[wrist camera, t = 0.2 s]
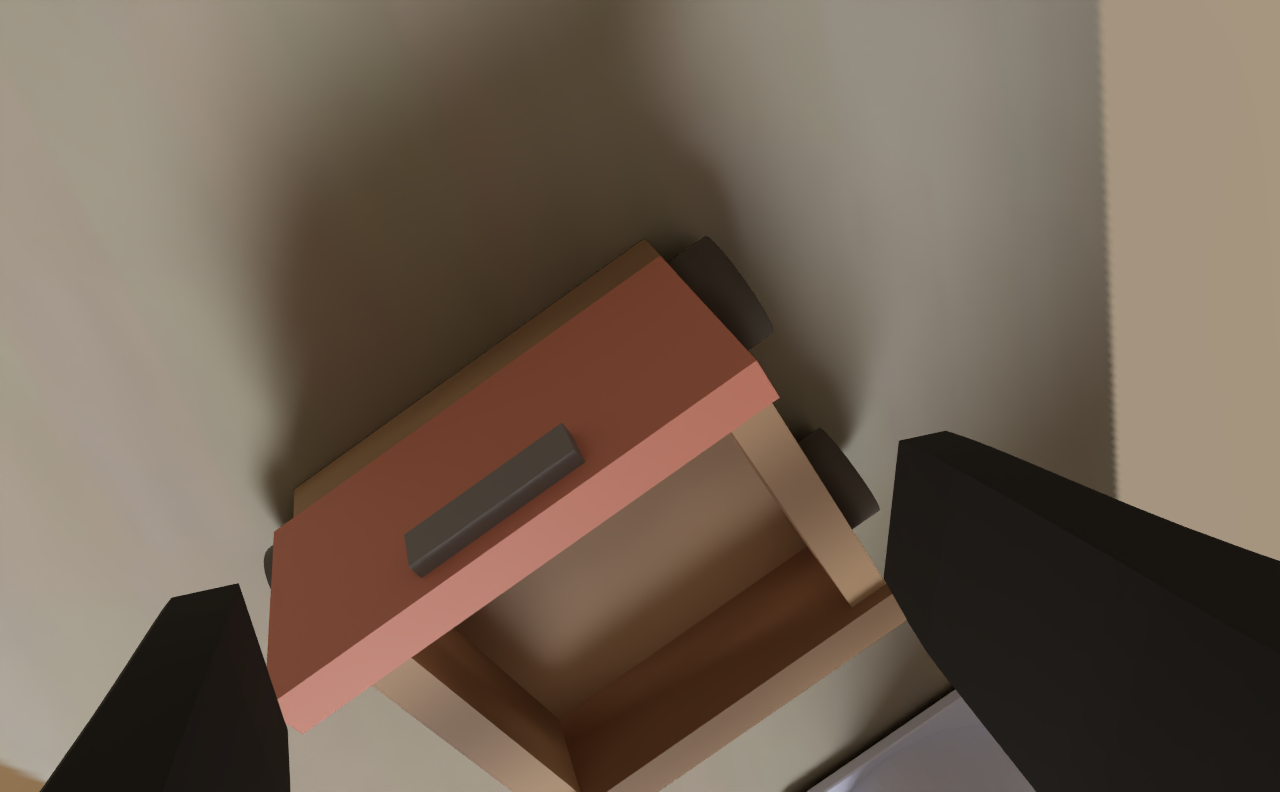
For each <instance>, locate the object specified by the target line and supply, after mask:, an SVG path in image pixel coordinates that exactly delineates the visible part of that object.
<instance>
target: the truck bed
mask: <svg viewBox="0 0 1280 792" xmlns="http://www.w3.org/2000/svg"><path fill="white" fill-rule="evenodd" d="M659 256H660V255H659V253H658V252H657V251H656V250H655V249H654V248H653V247H652V246H651V245H650V244H649V243H648V242H647V241H646V239H645V238H644V239H643V240H641V241H640V242H639V243H637V244H636V245H635V246H633V247H632V248H630V249H629V250H628V251H626V252H625V253H623V254H622V255H621V256H619V257H618V258H616V259H615V260H614V261H612V262H611V263H609V264H608V265H607V266H605V267H604V268H602V269H601V270H600V271H598V272H597V273H595V274H594V275H593V276H591V277H590V278H588V279H587V280H586V281H584V282H583V283H582V284H580V285H579V286H577V287H576V288H575V289H573V290H572V291H570V292H569V293H568V294H566V295H565V296H563V297H562V298H561V299H559V300H558V301H556V302H555V303H554V304H552V305H551V306H549V307H548V308H547V309H545V310H544V311H542V312H541V313H540V314H538V315H537V316H535V317H534V318H533V319H531V320H530V321H528V322H527V323H526V324H524V325H523V326H522V327H520V328H519V329H517V330H516V331H515V332H513V333H512V334H510V335H509V336H508V337H506V338H505V339H503V340H502V341H501V342H499V343H498V344H496V345H495V346H494V347H492V348H491V349H489V350H488V351H487V352H485V353H484V354H482V355H481V356H480V357H478V358H477V359H475V360H474V361H473V362H471V363H470V364H469V365H467V366H466V367H464V368H463V369H462V370H460V371H459V372H457V373H456V374H455V375H453V376H452V377H450V378H449V379H448V380H446V381H445V382H443V383H442V384H441V385H439V386H438V387H436V388H435V389H434V390H432V391H431V392H429V393H428V394H427V395H425V396H424V397H422V398H421V399H420V400H418V401H417V402H416V403H414V404H413V405H411V406H410V407H409V408H407V409H406V410H404V411H403V412H402V413H400V414H399V415H397V416H396V417H395V418H393V419H392V420H390V421H389V422H388V423H386V424H385V425H383V426H382V427H381V428H379V429H378V430H376V431H375V432H374V433H372V434H371V435H369V436H368V437H367V438H365V439H364V440H362V441H361V442H360V443H358V444H357V445H356V446H354V447H353V448H351V449H350V450H349V451H347V452H346V453H344V454H343V455H342V456H340V457H339V458H337V459H336V460H335V461H333V462H332V463H330V464H329V465H328V466H326V467H325V468H323V469H322V470H321V471H319V472H318V473H316V474H315V475H314V476H312V477H311V478H309V479H308V480H307V481H305V482H304V483H303V484H301V485H300V486H298V487H297V488H296V489H294V516H293V518H294V517H295V516H297V515H298V514H300V513H301V512H302V511H304V510H305V509H307V508H308V507H309V506H311V505H312V504H314V503H315V502H316V501H318V500H319V499H321V498H322V497H323V496H325V495H326V494H328V493H329V492H330V491H332V490H333V489H335V488H336V487H337V486H339V485H340V484H342V483H343V482H344V481H346V480H347V479H349V478H350V477H351V476H353V475H354V474H356V473H357V472H358V471H360V470H361V469H363V468H364V467H365V466H367V465H368V464H370V463H371V462H372V461H374V460H375V459H377V458H378V457H379V456H381V455H382V454H384V453H385V452H386V451H388V450H389V449H391V448H392V447H393V446H395V445H396V444H397V443H399V442H400V441H402V440H403V439H404V438H406V437H407V436H409V435H410V434H411V433H413V432H414V431H416V430H417V429H418V428H420V427H421V426H423V425H424V424H425V423H427V422H428V421H430V420H431V419H432V418H434V417H435V416H437V415H438V414H439V413H441V412H442V411H444V410H445V409H446V408H448V407H449V406H451V405H452V404H453V403H455V402H456V401H458V400H459V399H460V398H462V397H463V396H465V395H466V394H467V393H469V392H470V391H472V390H473V389H474V388H476V387H477V386H479V385H480V384H481V383H483V382H484V381H486V380H487V379H488V378H490V377H491V376H493V375H494V374H495V373H497V372H498V371H500V370H501V369H502V368H504V367H505V366H506V365H508V364H509V363H511V362H512V361H513V360H515V359H516V358H518V357H519V356H520V355H522V354H523V353H525V352H526V351H527V350H529V349H530V348H532V347H533V346H534V345H536V344H537V343H539V342H540V341H541V340H543V339H544V338H546V337H547V336H548V335H550V334H551V333H553V332H554V331H555V330H557V329H558V328H560V327H561V326H562V325H564V324H565V323H567V322H568V321H569V320H571V319H572V318H574V317H575V316H576V315H578V314H579V313H581V312H582V311H583V310H585V309H586V308H588V307H589V306H590V305H592V304H593V303H595V302H596V301H597V300H599V299H600V298H602V297H603V296H604V295H606V294H607V293H609V292H610V291H611V290H613V289H614V288H615V287H617V286H618V285H620V284H621V283H622V282H624V281H625V280H627V279H628V278H629V277H631V276H632V275H634V274H635V273H636V272H638V271H639V270H641V269H642V268H643V267H645V266H646V265H648V264H649V263H650V262H652V261H653V260H655V259H656V258H657V257H659ZM664 261H665V260H664ZM665 262H666V261H665ZM666 263H667V262H666ZM667 264H668V265H669V266H670V267H671V268H672V269H673V270H674V271H675V272H676V274H677V275H678V276H679V277H680V278H681V279H682V280H683V281H684V282H685V283H686V284H687V285H688V287H689V288H690V289H691V290H692V291H693V292H694V293H695V294H696V295H697V296H698V297H699V298H700V300H701V301H702V302H703V303H704V304H705V305H706V306H707V307H708V308H709V309H710V310H711V311H712V313H713V314H714V315H715V316H716V317H717V318H718V319H719V320H720V321H721V322H722V323H723V324H724V326H725V327H726V328H727V329H728V330H729V331H730V332H731V333H732V334H733V335H734V336H735V337H736V339H737V340H738V341H739V342H740V343H741V344H742V345H743V346H744V347H745V348H746V349H747V350H749V349H751V348H752V347H753V346H755V345H756V344H758V343H759V342H761V341H762V340H763V339H765V338H766V337H768V336H769V335H770V334H772V333H773V328H772V325H771V323H770V321H769V319H768V317H767V315H766V313H765V311H764V309H763V308H762V306H761V304H760V303H759V301H758V300H757V298H756V296H755V295H754V293H753V292H752V290H751V289H750V287H749V286H748V284H747V283H746V281H745V280H744V279H743V277H742V276H741V274H740V273H739V272H738V270H737V269H736V268H735V266H734V265H733V264H732V262H731V261H730V260H729V259H728V257H727V256H726V255H725V254H724V253H723V251H722V250H721V249H720V248H719V247H718V246H717V245H716V244H715V243H714V242H713V241H712V240H711V239H710V238H709V237H707V236H705V237H703V238H702V239H701V240H699V241H698V242H696V243H695V244H694V245H692V246H691V247H689V248H688V249H687V250H685V251H684V252H682V253H681V254H680V255H678V256H677V257H675V258H674V259H673V260H671V261H670V262H668V263H667ZM879 510H880V508H879V505H878V503H877V501H876V500H875V498H874V496H873V494H872V493H871V491H870V490H869V488H868V487H867V485H866V484H865V482H864V481H863V479H862V478H861V476H860V475H859V473H858V472H857V471H856V469H855V468H854V467H853V465H852V464H851V463H850V461H849V460H848V459H847V457H846V456H845V455H844V454H843V452H842V451H841V450H840V449H839V447H838V446H837V445H836V444H835V443H834V441H833V440H832V439H831V438H830V437H829V436H828V435H827V434H826V433H825V432H824V431H823V430H822V429H820V428H818V429H817V430H816V431H814V432H813V433H811V434H810V435H808V436H807V437H806V438H804V439H803V440H801V441H800V442H798V443H797V442H796V440H795V438H794V437H793V435H792V434H791V432H790V430H789V429H788V427H787V426H786V424H785V423H784V421H783V419H782V418H781V416H780V415H779V413H778V411H777V410H776V408H775V407H774V405H773V404H772V403H771V404H770V405H769V406H767V407H766V408H764V409H763V410H762V411H760V412H759V413H757V414H756V415H754V416H753V417H752V418H750V419H749V420H747V421H746V422H745V423H743V424H742V425H740V426H739V427H737V428H736V429H735V430H733V431H732V432H730V433H729V434H728V435H726V436H725V437H723V438H722V439H720V440H719V441H718V442H716V443H715V444H713V445H712V446H711V447H709V448H708V449H706V450H705V451H703V452H702V453H701V454H699V455H698V456H696V457H695V458H694V459H692V460H691V461H689V462H688V463H686V464H685V465H684V466H682V467H681V468H679V469H678V470H677V471H675V472H674V473H672V474H671V475H669V476H668V477H667V478H665V479H664V480H662V481H661V482H659V483H658V484H657V485H655V486H654V487H652V488H651V489H650V490H648V491H647V492H645V493H644V494H642V495H641V496H640V497H638V498H637V499H635V500H634V501H633V502H631V503H630V504H628V505H627V506H625V507H624V508H623V509H621V510H620V511H618V512H617V513H616V514H614V515H613V516H611V517H610V518H608V519H607V520H606V521H604V522H603V523H601V524H600V525H599V526H597V527H596V528H594V529H593V530H591V531H590V532H589V533H587V534H586V535H584V536H583V537H582V538H580V539H579V540H577V541H576V542H574V543H573V544H572V545H570V546H569V547H567V548H566V549H565V550H563V551H562V552H560V553H559V554H557V555H556V556H555V557H553V558H552V559H550V560H549V561H548V562H546V563H545V564H543V565H542V566H540V567H539V568H538V569H536V570H535V571H533V572H532V573H530V574H529V575H528V576H526V577H525V578H523V579H522V580H521V581H519V582H518V583H516V584H515V585H513V586H512V587H511V588H509V589H508V590H506V591H505V592H504V593H502V594H501V595H499V596H498V597H496V598H495V599H494V600H492V601H491V602H489V603H488V604H487V605H485V606H484V607H482V608H481V609H479V610H478V611H477V612H475V613H474V614H472V615H471V616H470V617H468V618H467V619H465V620H464V621H462V622H461V623H460V624H458V625H457V626H455V627H454V628H453V629H451V630H450V631H448V632H447V633H445V634H444V635H443V636H441V637H440V638H438V639H437V640H436V641H434V642H433V643H431V644H430V645H428V646H427V647H426V648H424V649H423V650H421V651H420V652H418V653H417V654H416V655H414V656H413V657H411V658H410V659H409V660H407V661H406V662H404V663H403V664H401V665H400V666H399V667H397V668H396V669H394V670H393V671H392V672H390V673H389V674H387V675H386V676H384V677H383V678H382V679H380V680H379V681H377V682H376V683H375V684H373V685H372V686H373V687H374V688H376V689H377V690H378V691H380V692H381V693H382V694H384V695H385V696H386V697H388V698H389V699H390V700H392V701H393V702H394V703H396V704H397V705H398V706H400V707H401V708H402V709H404V710H405V711H406V712H408V713H409V714H410V715H412V716H413V717H414V718H416V719H417V720H418V721H420V722H421V723H422V724H424V725H425V726H426V727H427V728H429V729H430V730H431V731H433V732H434V733H435V734H437V735H438V736H439V737H441V738H442V739H443V740H445V741H446V742H447V743H449V744H450V745H451V746H453V747H454V748H455V749H457V750H458V751H459V752H461V753H462V754H463V755H465V756H466V757H467V758H469V759H470V760H471V761H473V762H474V763H475V764H476V765H478V766H479V767H480V768H482V769H483V770H484V771H486V772H487V773H488V774H490V775H491V776H492V777H494V778H495V779H496V780H498V781H499V782H500V783H502V784H503V785H504V786H506V787H507V788H508V789H510V790H511V791H512V792H659V791H660V790H662V789H663V788H665V787H666V786H667V785H669V784H670V783H672V782H673V781H675V780H676V779H678V778H679V777H680V776H682V775H683V774H685V773H686V772H688V771H689V770H691V769H692V768H693V767H695V766H696V765H698V764H699V763H701V762H702V761H704V760H705V759H706V758H708V757H709V756H711V755H712V754H714V753H715V752H717V751H718V750H720V749H721V748H722V747H724V746H725V745H727V744H728V743H730V742H731V741H733V740H734V739H735V738H737V737H738V736H740V735H741V734H743V733H744V732H746V731H747V730H748V729H750V728H751V727H753V726H754V725H756V724H757V723H759V722H760V721H761V720H763V719H764V718H766V717H767V716H769V715H770V714H772V713H773V712H774V711H776V710H777V709H779V708H780V707H782V706H783V705H785V704H786V703H787V702H789V701H790V700H792V699H793V698H795V697H796V696H798V695H799V694H800V693H802V692H803V691H805V690H806V689H808V688H809V687H811V686H812V685H814V684H815V683H816V682H818V681H819V680H821V679H822V678H824V677H825V676H827V675H828V674H829V673H831V672H832V671H834V670H835V669H837V668H838V667H840V666H841V665H842V664H844V663H845V662H847V661H848V660H850V659H851V658H853V657H854V656H855V655H857V654H858V653H860V652H861V651H863V650H864V649H866V648H867V647H868V646H870V645H871V644H873V643H874V642H876V641H877V640H879V639H880V638H881V637H883V636H884V635H886V634H887V633H889V632H890V631H892V630H893V629H894V628H896V627H897V626H899V625H900V624H902V623H903V622H905V621H906V620H907V619H906V617H905V616H904V614H903V612H902V610H901V608H900V607H899V605H898V603H897V601H896V600H895V598H894V596H893V594H892V593H891V591H890V589H889V587H888V585H887V584H886V583H885V581H884V580H883V578H882V576H881V575H880V573H879V572H878V570H877V568H876V567H875V565H874V564H873V562H872V560H871V559H870V557H869V556H868V554H867V553H866V551H865V549H864V548H863V546H862V545H861V543H860V541H859V540H858V538H857V537H856V535H855V534H854V532H853V530H852V529H853V528H855V527H856V526H858V525H859V524H860V523H862V522H863V521H865V520H866V519H868V518H869V517H871V516H872V515H873V514H875V513H876V512H878V511H879ZM272 562H273V546H271V547H270V548H269V549H268V550H267V551H266V553H265V556H264V569H265V574H266V578H267V581H268V584H269V586H270V588H271V580H272Z"/></svg>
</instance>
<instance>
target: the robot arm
mask: <svg viewBox="0 0 1280 792" xmlns="http://www.w3.org/2000/svg"><path fill="white" fill-rule="evenodd" d="M884 580H885V582H886V584H887V585H888V587H889V589H890V591H891V593H892V594H893V596H894V598H895V600H896V601H897V603H898V605H899V607H900V608H901V610H902V612H903V614H904V616H905V617H906V619H907V621H908V622H909V624H910V626H911V627H912V629H913V631H914V632H915V634H916V635H917V637H918V639H919V640H920V642H921V644H922V645H923V647H924V648H925V650H926V652H927V653H928V654H929V656H930V657H931V658H932V660H933V661H934V662H935V664H936V665H937V666H938V668H939V669H940V670H941V672H942V673H943V674H944V675H945V677H946V678H947V679H948V681H949V682H950V683H951V684H952V686H953V687H954V688H955V690H954V691H952V692H951V693H949V694H948V695H946V696H945V697H943V698H942V699H940V700H939V701H938V702H936V703H935V704H933V705H932V706H930V707H929V708H927V709H926V710H924V711H923V712H922V713H920V714H919V715H917V716H916V717H914V718H913V719H911V720H910V721H908V722H907V723H906V724H904V725H903V726H901V727H900V728H898V729H897V730H895V731H894V732H892V733H891V734H890V735H888V736H887V737H885V738H884V739H882V740H881V741H879V742H878V743H876V744H875V745H874V746H872V747H871V748H869V749H868V750H866V751H865V752H863V753H862V754H860V755H859V756H858V757H856V758H855V759H853V760H852V761H850V762H849V763H847V764H846V765H844V766H843V767H842V768H840V769H839V770H837V771H836V772H834V773H833V774H831V775H830V776H828V777H827V778H825V779H824V780H823V781H821V782H820V783H818V784H817V785H815V786H814V787H812V788H811V789H809V790H808V791H807V792H1280V561H1278V560H1275V559H1272V558H1269V557H1267V556H1264V555H1261V554H1258V553H1255V552H1252V551H1249V550H1246V549H1243V548H1241V547H1238V546H1235V545H1233V544H1230V543H1227V542H1224V541H1222V540H1219V539H1217V538H1214V537H1211V536H1208V535H1206V534H1203V533H1200V532H1197V531H1195V530H1192V529H1189V528H1187V527H1184V526H1182V525H1179V524H1176V523H1174V522H1171V521H1169V520H1166V519H1164V518H1161V517H1158V516H1156V515H1153V514H1151V513H1148V512H1146V511H1144V510H1141V509H1139V508H1136V507H1134V506H1131V505H1129V504H1126V503H1124V502H1121V501H1119V500H1117V499H1114V498H1112V497H1109V496H1107V495H1105V494H1102V493H1100V492H1097V491H1095V490H1093V489H1090V488H1088V487H1085V486H1083V485H1081V484H1078V483H1076V482H1074V481H1071V480H1069V479H1066V478H1064V477H1062V476H1059V475H1057V474H1055V473H1052V472H1050V471H1048V470H1045V469H1043V468H1040V467H1038V466H1036V465H1033V464H1031V463H1029V462H1026V461H1024V460H1021V459H1019V458H1017V457H1014V456H1012V455H1009V454H1007V453H1005V452H1002V451H1000V450H997V449H995V448H992V447H990V446H987V445H985V444H982V443H979V442H977V441H974V440H971V439H969V438H966V437H963V436H960V435H957V434H954V433H951V432H948V431H942V432H938V433H933V434H928V435H924V436H919V437H914V438H910V439H905V440H900V441H899V446H898V455H897V463H896V472H895V481H894V490H893V499H892V508H891V517H890V526H889V535H888V544H887V553H886V562H885V571H884ZM40 792H290V771H289V750H288V729H287V726H286V724H285V721H284V718H283V715H282V712H281V709H280V706H279V703H278V700H277V697H276V694H275V691H274V688H273V685H272V682H271V679H270V676H269V673H268V670H267V667H266V664H265V661H264V658H263V655H262V652H261V649H260V646H259V643H258V640H257V637H256V634H255V631H254V628H253V625H252V622H251V619H250V616H249V613H248V610H247V607H246V604H245V601H244V598H243V595H242V592H241V589H240V586H239V583H238V584H233V585H228V586H224V587H219V588H214V589H210V590H205V591H201V592H196V593H191V594H187V595H182V596H177V597H173V598H171V599H170V601H169V602H168V603H167V604H166V606H165V607H164V608H163V610H162V611H161V613H160V614H159V616H158V617H157V619H156V620H155V622H154V623H153V625H152V626H151V628H150V629H149V631H148V632H147V634H146V635H145V637H144V638H143V640H142V641H141V643H140V645H139V646H138V648H137V649H136V651H135V652H134V654H133V655H132V657H131V658H130V660H129V662H128V663H127V665H126V666H125V668H124V669H123V671H122V672H121V674H120V675H119V677H118V678H117V680H116V681H115V683H114V684H113V686H112V687H111V689H110V691H109V692H108V694H107V695H106V697H105V698H104V700H103V701H102V703H101V704H100V706H99V707H98V709H97V710H96V712H95V713H94V715H93V716H92V718H91V719H90V720H89V722H88V723H87V725H86V726H85V728H84V729H83V730H82V732H81V733H80V735H79V736H78V738H77V739H76V741H75V742H74V743H73V745H72V746H71V748H70V749H69V751H68V752H67V753H66V755H65V756H64V758H63V759H62V761H61V762H60V763H59V765H58V766H57V768H56V769H55V771H54V772H53V774H52V775H51V776H50V778H49V779H48V781H47V782H46V784H45V785H44V786H43V788H42V789H41V791H40Z"/></svg>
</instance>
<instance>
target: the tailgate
mask: <svg viewBox="0 0 1280 792" xmlns="http://www.w3.org/2000/svg"><path fill="white" fill-rule="evenodd" d="M779 398H780V397H779V396H778V394H777V392H776V391H775V389H774V388H773V386H772V384H771V383H770V381H769V380H768V378H767V376H766V375H765V373H764V371H763V370H762V368H761V367H760V365H759V363H758V362H757V360H756V359H755V358H754V357H753V356H752V355H751V354H750V353H749V352H748V350H747V349H746V348H745V347H744V346H743V345H742V344H741V343H740V342H739V341H738V340H737V339H736V337H735V336H734V335H733V334H732V333H731V332H730V331H729V330H728V329H727V328H726V327H725V326H724V324H723V323H722V322H721V321H720V320H719V319H718V318H717V317H716V316H715V315H714V314H713V313H712V311H711V310H710V309H709V308H708V307H707V306H706V305H705V304H704V303H703V302H702V301H701V300H700V298H699V297H698V296H697V295H696V294H695V293H694V292H693V291H692V290H691V289H690V288H689V287H688V285H687V284H686V283H685V282H684V281H683V280H682V279H681V278H680V277H679V276H678V275H677V274H676V272H675V271H674V270H673V269H672V268H671V267H670V266H669V265H668V264H667V263H666V262H665V261H664V259H663V258H662V257H661V256H659V257H657V258H656V259H655V260H653V261H652V262H650V263H649V264H648V265H646V266H645V267H643V268H642V269H641V270H639V271H638V272H636V273H635V274H634V275H632V276H631V277H629V278H628V279H627V280H625V281H624V282H622V283H621V284H620V285H618V286H617V287H615V288H614V289H613V290H611V291H610V292H609V293H607V294H606V295H604V296H603V297H602V298H600V299H599V300H597V301H596V302H595V303H593V304H592V305H590V306H589V307H588V308H586V309H585V310H583V311H582V312H581V313H579V314H578V315H576V316H575V317H574V318H572V319H571V320H569V321H568V322H567V323H565V324H564V325H562V326H561V327H560V328H558V329H557V330H555V331H554V332H553V333H551V334H550V335H548V336H547V337H546V338H544V339H543V340H541V341H540V342H539V343H537V344H536V345H534V346H533V347H532V348H530V349H529V350H527V351H526V352H525V353H523V354H522V355H520V356H519V357H518V358H516V359H515V360H513V361H512V362H511V363H509V364H508V365H506V366H505V367H504V368H502V369H501V370H500V371H498V372H497V373H495V374H494V375H493V376H491V377H490V378H488V379H487V380H486V381H484V382H483V383H481V384H480V385H479V386H477V387H476V388H474V389H473V390H472V391H470V392H469V393H467V394H466V395H465V396H463V397H462V398H460V399H459V400H458V401H456V402H455V403H453V404H452V405H451V406H449V407H448V408H446V409H445V410H444V411H442V412H441V413H439V414H438V415H437V416H435V417H434V418H432V419H431V420H430V421H428V422H427V423H425V424H424V425H423V426H421V427H420V428H418V429H417V430H416V431H414V432H413V433H411V434H410V435H409V436H407V437H406V438H404V439H403V440H402V441H400V442H399V443H397V444H396V445H395V446H393V447H392V448H391V449H389V450H388V451H386V452H385V453H384V454H382V455H381V456H379V457H378V458H377V459H375V460H374V461H372V462H371V463H370V464H368V465H367V466H365V467H364V468H363V469H361V470H360V471H358V472H357V473H356V474H354V475H353V476H351V477H350V478H349V479H347V480H346V481H344V482H343V483H342V484H340V485H339V486H337V487H336V488H335V489H333V490H332V491H330V492H329V493H328V494H326V495H325V496H323V497H322V498H321V499H319V500H318V501H316V502H315V503H314V504H312V505H311V506H309V507H308V508H307V509H305V510H304V511H302V512H301V513H300V514H298V515H297V516H295V517H294V518H293V519H291V520H290V521H288V522H287V523H286V524H284V525H283V526H282V527H280V528H279V529H277V530H276V531H275V532H274V543H273V562H272V580H271V598H270V617H269V635H268V654H267V670H268V673H269V676H270V679H271V682H272V685H273V688H274V691H275V694H276V697H277V700H278V703H279V706H280V709H281V712H282V715H283V718H284V721H285V723H287V724H288V725H290V726H291V727H293V728H294V729H296V730H297V731H299V732H300V733H302V734H304V733H305V732H306V731H308V730H309V729H311V728H312V727H314V726H315V725H316V724H318V723H319V722H321V721H322V720H324V719H325V718H326V717H328V716H329V715H331V714H332V713H333V712H335V711H336V710H338V709H339V708H341V707H342V706H343V705H345V704H346V703H348V702H349V701H350V700H352V699H353V698H355V697H356V696H358V695H359V694H360V693H362V692H363V691H365V690H366V689H367V688H369V687H370V686H372V685H373V684H375V683H376V682H377V681H379V680H380V679H382V678H383V677H384V676H386V675H387V674H389V673H390V672H392V671H393V670H394V669H396V668H397V667H399V666H400V665H401V664H403V663H404V662H406V661H407V660H409V659H410V658H411V657H413V656H414V655H416V654H417V653H418V652H420V651H421V650H423V649H424V648H426V647H427V646H428V645H430V644H431V643H433V642H434V641H436V640H437V639H438V638H440V637H441V636H443V635H444V634H445V633H447V632H448V631H450V630H451V629H453V628H454V627H455V626H457V625H458V624H460V623H461V622H462V621H464V620H465V619H467V618H468V617H470V616H471V615H472V614H474V613H475V612H477V611H478V610H479V609H481V608H482V607H484V606H485V605H487V604H488V603H489V602H491V601H492V600H494V599H495V598H496V597H498V596H499V595H501V594H502V593H504V592H505V591H506V590H508V589H509V588H511V587H512V586H513V585H515V584H516V583H518V582H519V581H521V580H522V579H523V578H525V577H526V576H528V575H529V574H530V573H532V572H533V571H535V570H536V569H538V568H539V567H540V566H542V565H543V564H545V563H546V562H548V561H549V560H550V559H552V558H553V557H555V556H556V555H557V554H559V553H560V552H562V551H563V550H565V549H566V548H567V547H569V546H570V545H572V544H573V543H574V542H576V541H577V540H579V539H580V538H582V537H583V536H584V535H586V534H587V533H589V532H590V531H591V530H593V529H594V528H596V527H597V526H599V525H600V524H601V523H603V522H604V521H606V520H607V519H608V518H610V517H611V516H613V515H614V514H616V513H617V512H618V511H620V510H621V509H623V508H624V507H625V506H627V505H628V504H630V503H631V502H633V501H634V500H635V499H637V498H638V497H640V496H641V495H642V494H644V493H645V492H647V491H648V490H650V489H651V488H652V487H654V486H655V485H657V484H658V483H659V482H661V481H662V480H664V479H665V478H667V477H668V476H669V475H671V474H672V473H674V472H675V471H677V470H678V469H679V468H681V467H682V466H684V465H685V464H686V463H688V462H689V461H691V460H692V459H694V458H695V457H696V456H698V455H699V454H701V453H702V452H703V451H705V450H706V449H708V448H709V447H711V446H712V445H713V444H715V443H716V442H718V441H719V440H720V439H722V438H723V437H725V436H726V435H728V434H729V433H730V432H732V431H733V430H735V429H736V428H737V427H739V426H740V425H742V424H743V423H745V422H746V421H747V420H749V419H750V418H752V417H753V416H754V415H756V414H757V413H759V412H760V411H762V410H763V409H764V408H766V407H767V406H769V405H770V404H771V403H773V402H774V401H776V400H777V399H779Z"/></svg>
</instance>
